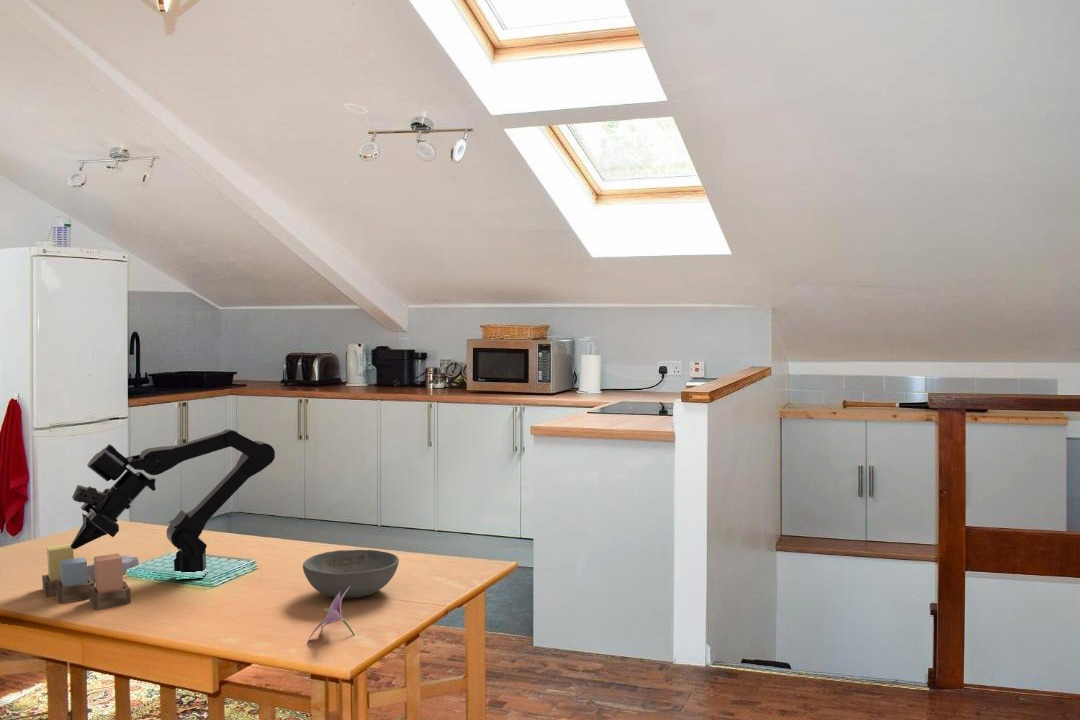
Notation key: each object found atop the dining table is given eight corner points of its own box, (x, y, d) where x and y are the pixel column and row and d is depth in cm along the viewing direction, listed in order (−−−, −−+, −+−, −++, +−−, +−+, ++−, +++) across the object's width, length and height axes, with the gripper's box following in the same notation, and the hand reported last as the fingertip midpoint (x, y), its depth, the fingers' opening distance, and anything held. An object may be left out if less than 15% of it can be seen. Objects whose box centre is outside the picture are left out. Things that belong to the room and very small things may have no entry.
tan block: (120, 586, 211) (118, 553, 210) (123, 591, 206) (121, 557, 206) (95, 590, 208) (93, 556, 208) (98, 595, 204) (96, 561, 203)
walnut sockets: (114, 577, 227) (113, 564, 227) (130, 603, 206) (130, 589, 206) (42, 588, 219) (42, 575, 219) (52, 617, 198) (51, 602, 198)
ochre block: (72, 574, 221) (70, 543, 221) (74, 579, 217) (73, 547, 217) (48, 578, 219) (46, 546, 218) (50, 583, 214) (48, 550, 214)
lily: (348, 626, 191) (323, 587, 190) (385, 613, 185) (359, 572, 184) (311, 663, 181) (284, 622, 180) (348, 650, 175) (321, 608, 174)
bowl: (297, 588, 215) (295, 554, 214) (386, 576, 223) (385, 543, 222) (313, 615, 195) (311, 577, 195) (410, 600, 203) (409, 564, 203)
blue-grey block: (85, 589, 216) (84, 557, 216) (88, 594, 212) (86, 561, 211) (61, 592, 213) (59, 560, 213) (63, 598, 209) (62, 565, 209)
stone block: (77, 588, 226) (113, 581, 224) (73, 568, 226) (109, 561, 224) (109, 576, 237) (143, 569, 236) (105, 557, 238) (139, 550, 236)
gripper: (89, 466, 222) (38, 519, 216) (100, 477, 206) (46, 534, 201) (126, 495, 226) (78, 547, 221) (140, 508, 211) (88, 564, 205)
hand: (72, 547), depth 212 cm, fingers closed
